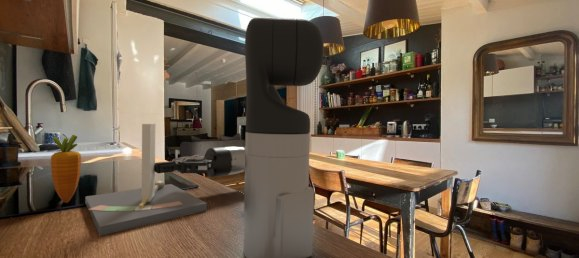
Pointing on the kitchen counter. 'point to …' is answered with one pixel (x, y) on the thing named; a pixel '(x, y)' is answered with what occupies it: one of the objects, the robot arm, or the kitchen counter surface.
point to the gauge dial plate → (126, 213)
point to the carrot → (66, 168)
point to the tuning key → (148, 164)
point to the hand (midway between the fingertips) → (155, 168)
